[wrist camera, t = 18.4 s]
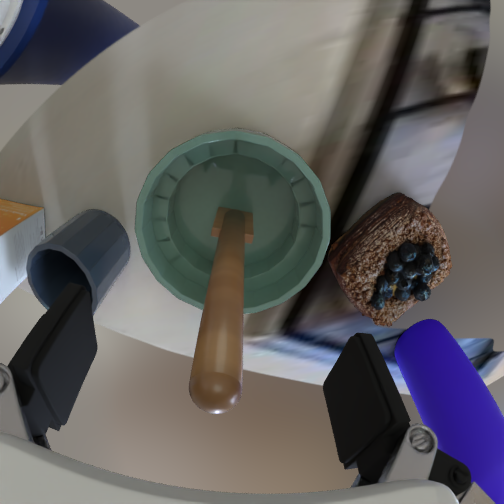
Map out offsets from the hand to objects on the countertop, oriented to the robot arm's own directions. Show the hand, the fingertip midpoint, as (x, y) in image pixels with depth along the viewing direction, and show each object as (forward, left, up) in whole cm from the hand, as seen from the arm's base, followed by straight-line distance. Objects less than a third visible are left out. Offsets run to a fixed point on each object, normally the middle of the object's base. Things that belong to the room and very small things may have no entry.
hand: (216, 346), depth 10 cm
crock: (+7, -13, -18) cm, 23 cm away
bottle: (+13, +27, -18) cm, 35 cm away
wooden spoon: (+1, 0, -17) cm, 17 cm away
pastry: (+2, +16, -18) cm, 24 cm away
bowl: (+1, 0, -18) cm, 18 cm away
